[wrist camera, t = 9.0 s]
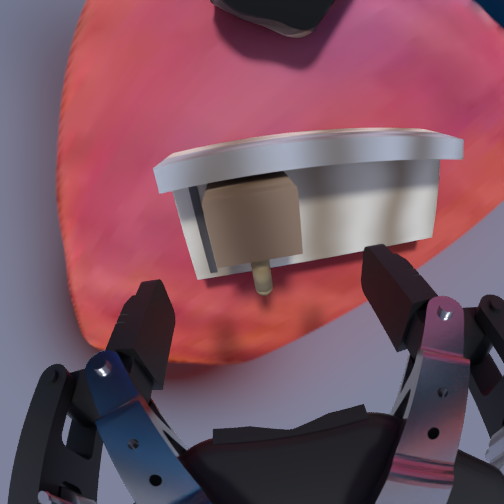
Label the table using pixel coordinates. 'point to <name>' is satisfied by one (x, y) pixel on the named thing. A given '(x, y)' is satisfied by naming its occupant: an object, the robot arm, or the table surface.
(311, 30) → the black sponge
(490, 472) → the robot arm
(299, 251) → the brown block with peg
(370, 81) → the table surface
